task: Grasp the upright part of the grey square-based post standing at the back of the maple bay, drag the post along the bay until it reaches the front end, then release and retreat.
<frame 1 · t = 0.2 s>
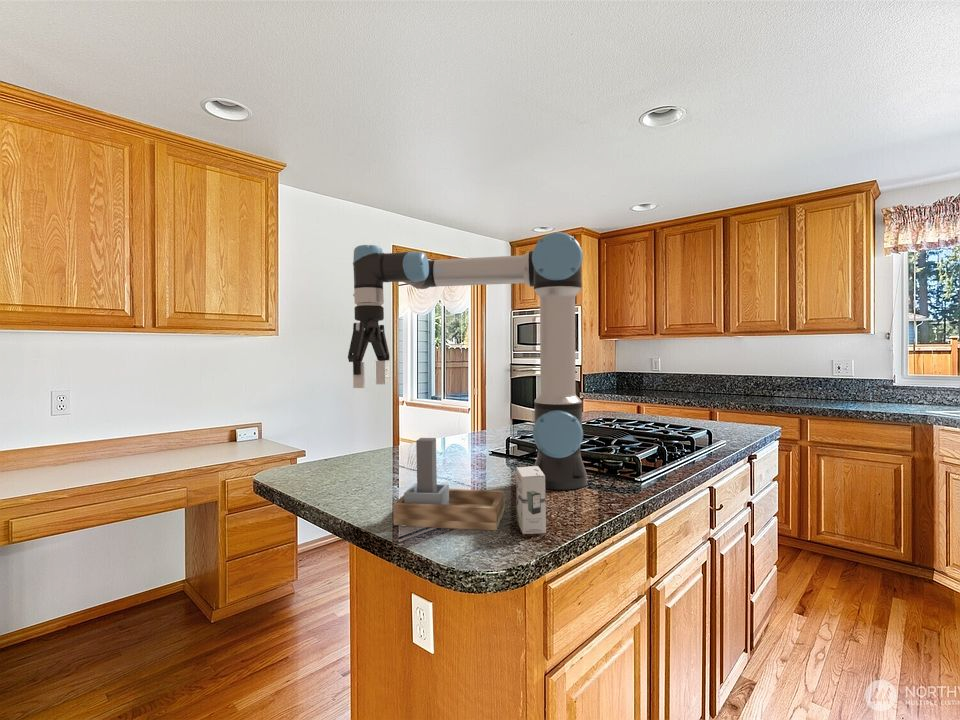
hand: (370, 386, 133), 28 cm above the counter, fingers open, 13 cm apart
bay: (451, 517, 111), on the counter
ink box: (530, 527, 104), on the counter
grey square-based post: (426, 473, 112), point 10 cm above the counter, slide at 0.0 cm
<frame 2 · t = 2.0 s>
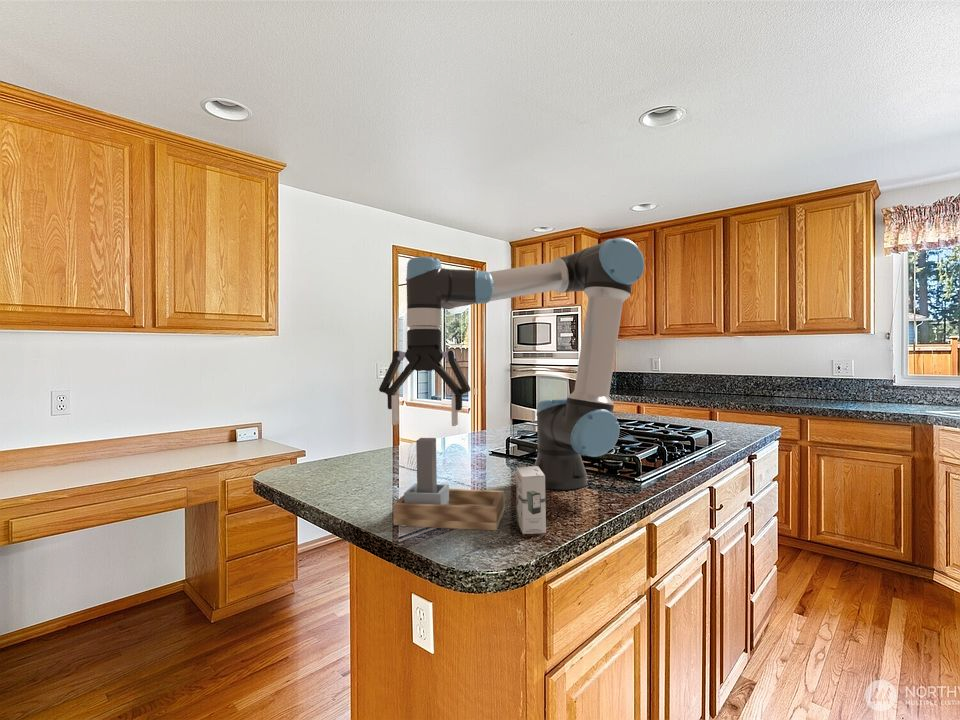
hand: (424, 424, 111), 20 cm above the counter, fingers open, 13 cm apart
nothing on the counter moved.
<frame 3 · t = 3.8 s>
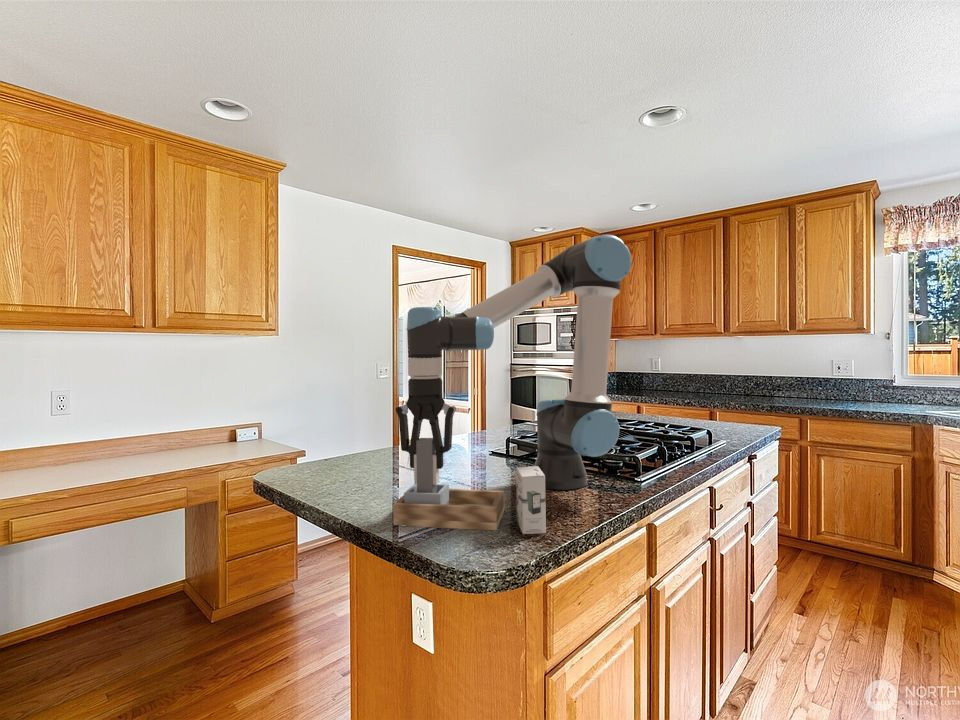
hand: (427, 482, 112), 8 cm above the counter, fingers closed on grey square-based post, 3 cm apart
grey square-based post: (426, 473, 112), point 10 cm above the counter, slide at 0.0 cm, touching gripper
everything else where it was.
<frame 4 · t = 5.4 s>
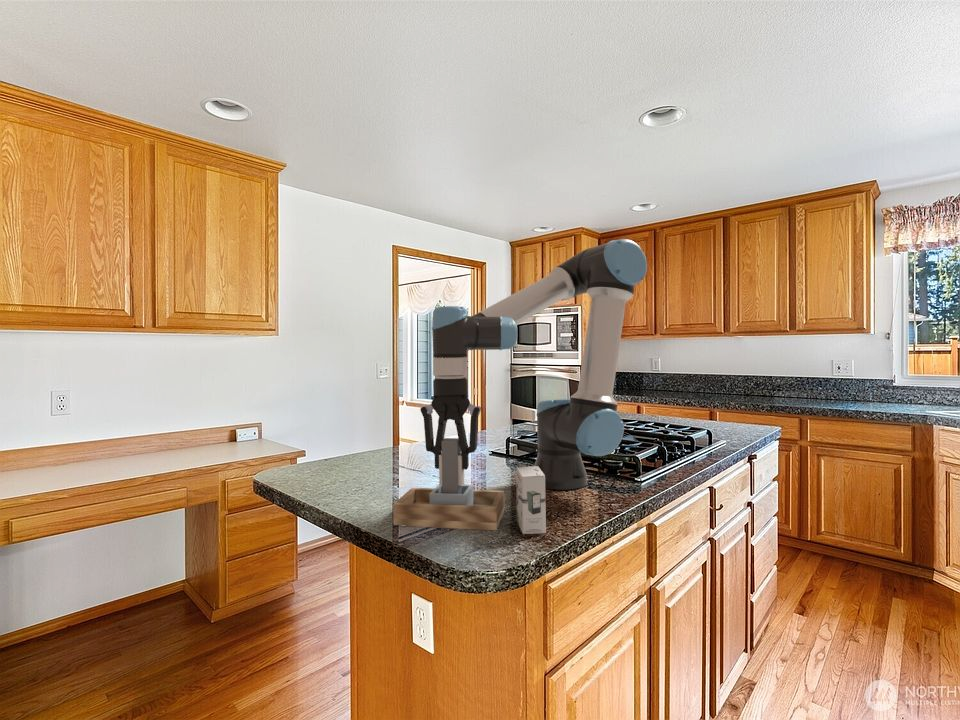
hand: (452, 483, 111), 8 cm above the counter, fingers closed on grey square-based post, 3 cm apart
grey square-based post: (451, 474, 111), point 10 cm above the counter, slide at 5.7 cm, touching gripper
everything else where it was.
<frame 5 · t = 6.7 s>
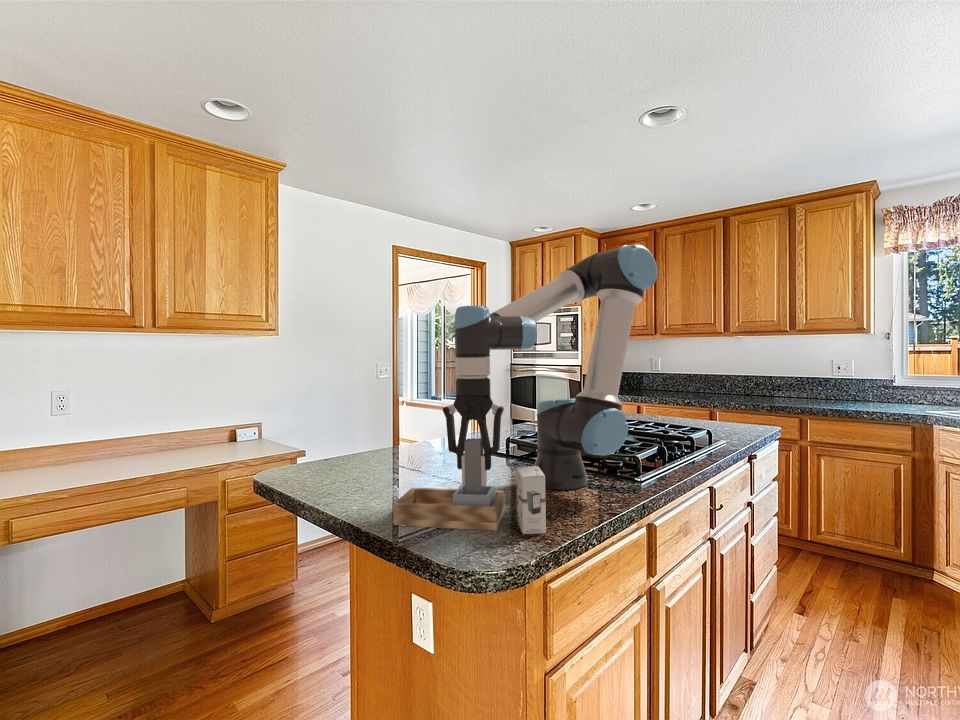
hand: (474, 484, 110), 8 cm above the counter, fingers closed on grey square-based post, 3 cm apart
grey square-based post: (474, 475, 110), point 10 cm above the counter, slide at 10.7 cm, touching gripper
everything else where it was.
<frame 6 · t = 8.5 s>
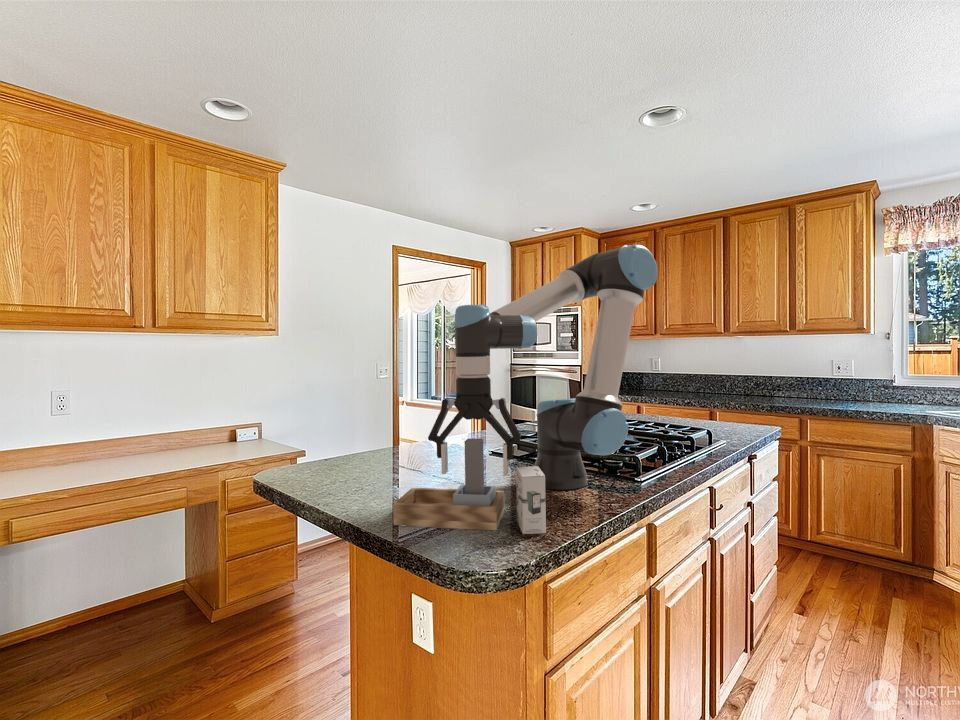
hand: (475, 473, 110), 10 cm above the counter, fingers open, 13 cm apart
grey square-based post: (474, 475, 110), point 10 cm above the counter, slide at 10.8 cm
everything else where it was.
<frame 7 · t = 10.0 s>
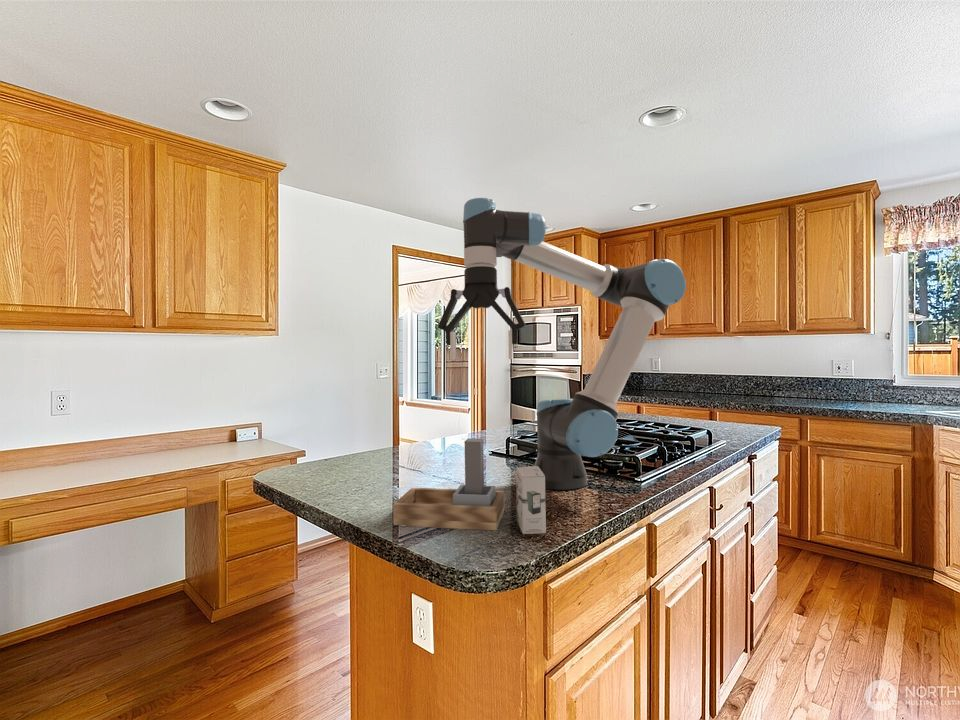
hand: (482, 359, 117), 35 cm above the counter, fingers open, 13 cm apart
nothing on the counter moved.
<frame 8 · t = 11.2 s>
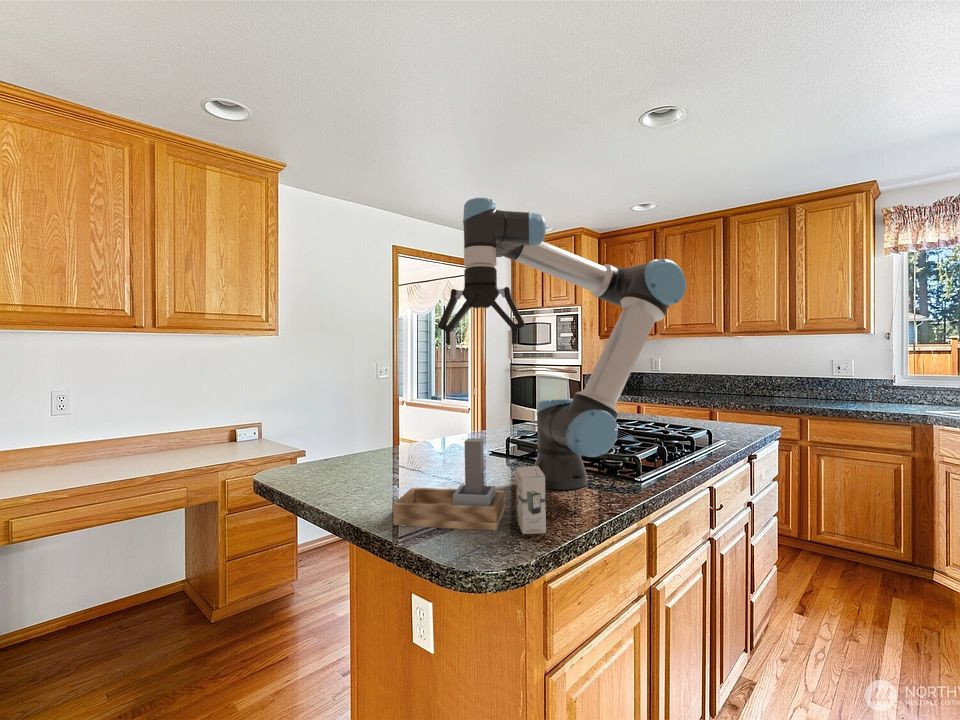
hand: (481, 359, 117), 35 cm above the counter, fingers open, 13 cm apart
nothing on the counter moved.
at the end: grey square-based post slide at 10.8 cm; the gripper is holding nothing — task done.
